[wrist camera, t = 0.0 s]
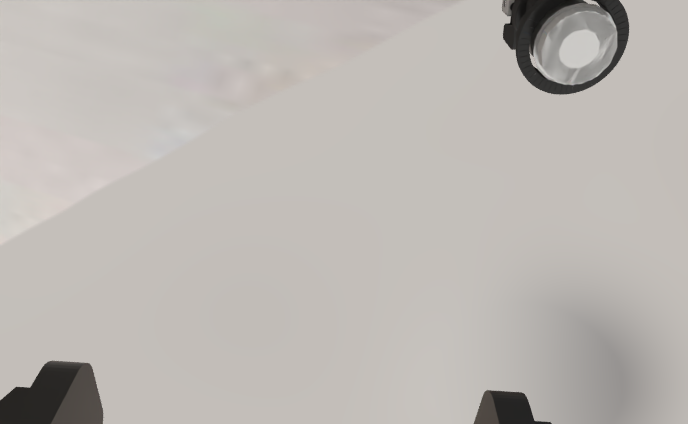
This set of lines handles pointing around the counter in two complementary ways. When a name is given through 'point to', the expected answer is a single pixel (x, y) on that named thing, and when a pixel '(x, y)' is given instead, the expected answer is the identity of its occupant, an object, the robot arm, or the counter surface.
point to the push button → (566, 41)
